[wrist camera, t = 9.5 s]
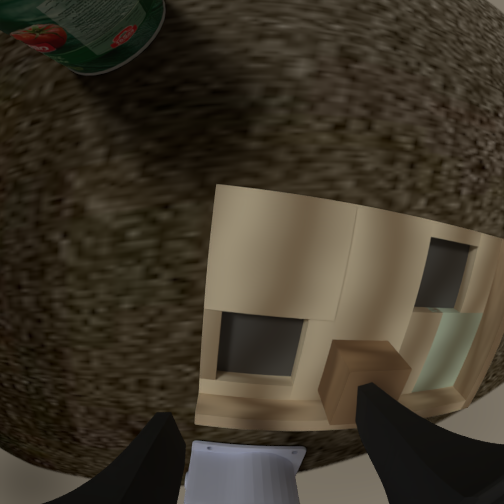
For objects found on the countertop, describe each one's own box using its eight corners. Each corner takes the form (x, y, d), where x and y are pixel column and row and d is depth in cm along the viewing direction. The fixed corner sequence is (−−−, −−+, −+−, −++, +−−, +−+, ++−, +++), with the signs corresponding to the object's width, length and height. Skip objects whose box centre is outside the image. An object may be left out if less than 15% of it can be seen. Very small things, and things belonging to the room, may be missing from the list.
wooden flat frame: (200, 391, 19) (194, 424, 16) (218, 184, 16) (212, 183, 13) (449, 387, 20) (467, 407, 17) (499, 238, 17) (528, 246, 14)
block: (317, 389, 18) (329, 425, 14) (332, 339, 17) (350, 371, 13) (369, 388, 18) (387, 419, 15) (388, 340, 17) (412, 369, 14)
